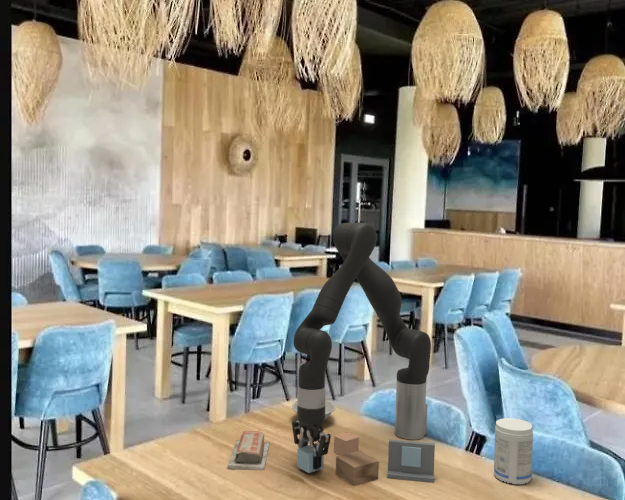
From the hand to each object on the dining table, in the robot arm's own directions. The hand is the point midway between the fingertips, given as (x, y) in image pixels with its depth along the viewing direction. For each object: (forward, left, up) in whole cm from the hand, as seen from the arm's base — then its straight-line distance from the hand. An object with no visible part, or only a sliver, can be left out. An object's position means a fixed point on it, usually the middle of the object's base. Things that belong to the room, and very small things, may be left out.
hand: (310, 464), depth 161 cm
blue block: (0, 0, -1) cm, 1 cm away
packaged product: (+8, -17, -2) cm, 19 cm away
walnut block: (-8, +10, -2) cm, 13 cm away
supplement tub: (-41, +35, -2) cm, 54 cm away
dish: (-25, -29, -2) cm, 38 cm away
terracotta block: (-16, -3, -2) cm, 16 cm away
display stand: (-20, +18, -2) cm, 27 cm away
